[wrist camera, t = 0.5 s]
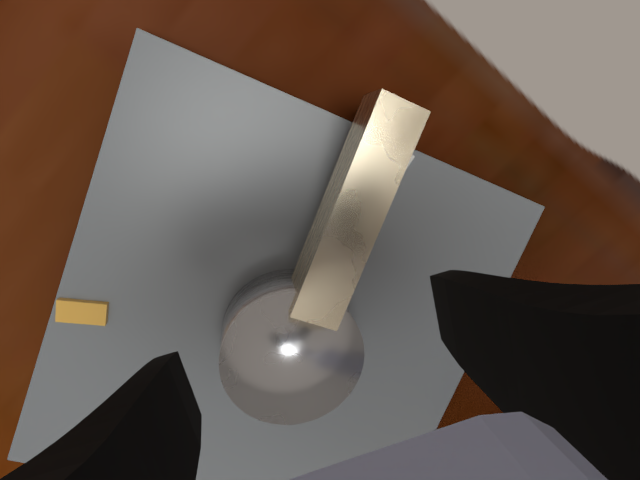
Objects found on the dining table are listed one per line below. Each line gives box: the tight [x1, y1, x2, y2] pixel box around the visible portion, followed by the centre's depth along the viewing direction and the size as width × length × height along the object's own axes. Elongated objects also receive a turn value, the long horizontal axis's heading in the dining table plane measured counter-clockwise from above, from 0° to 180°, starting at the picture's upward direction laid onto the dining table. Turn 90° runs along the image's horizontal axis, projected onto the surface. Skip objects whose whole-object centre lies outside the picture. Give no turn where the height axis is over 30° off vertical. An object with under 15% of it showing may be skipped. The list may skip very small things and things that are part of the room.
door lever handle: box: [219, 89, 431, 425], centre depth 18 cm, size 14×6×4 cm, turn 158°
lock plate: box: [7, 28, 545, 480], centre depth 21 cm, size 20×20×2 cm
